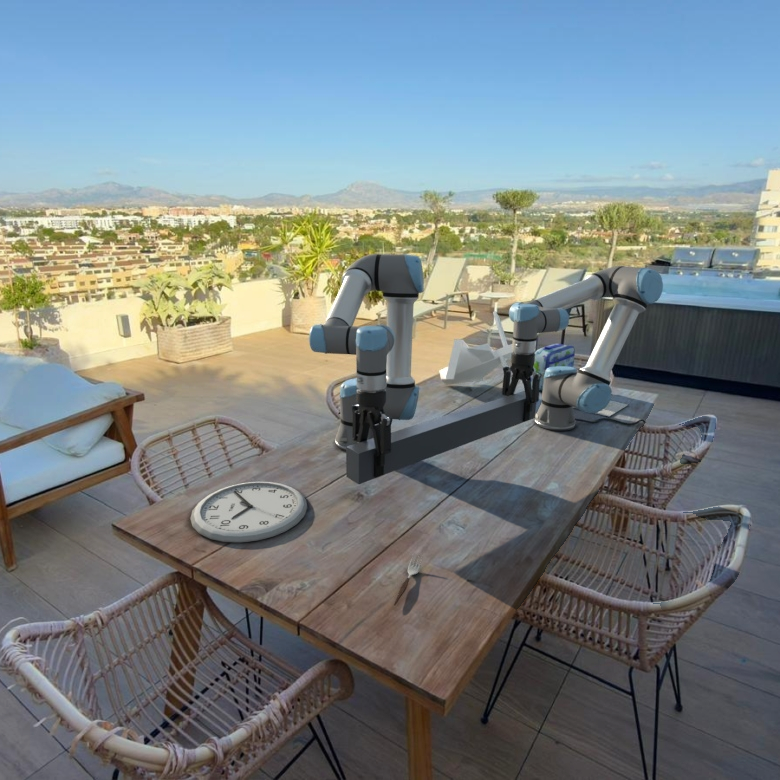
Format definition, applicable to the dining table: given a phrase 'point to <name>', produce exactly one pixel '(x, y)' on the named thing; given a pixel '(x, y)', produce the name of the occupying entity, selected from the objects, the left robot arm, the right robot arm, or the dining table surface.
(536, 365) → the lunch box
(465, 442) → the bar
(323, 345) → the left robot arm
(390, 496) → the dining table surface
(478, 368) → the white plastic object
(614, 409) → the invitation card
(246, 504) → the wall clock
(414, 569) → the fork
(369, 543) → the dining table surface
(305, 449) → the dining table surface
